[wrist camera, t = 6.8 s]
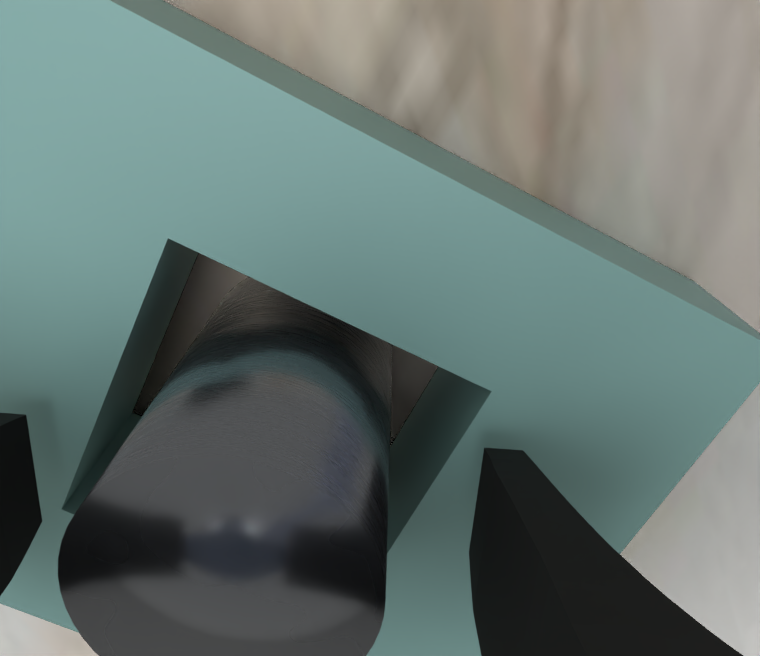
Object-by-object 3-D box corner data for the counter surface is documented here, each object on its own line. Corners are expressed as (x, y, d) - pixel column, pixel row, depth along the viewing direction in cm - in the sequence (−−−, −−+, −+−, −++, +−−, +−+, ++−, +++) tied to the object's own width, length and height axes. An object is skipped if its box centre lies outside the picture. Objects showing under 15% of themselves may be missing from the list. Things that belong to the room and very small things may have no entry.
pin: (405, 279, 14) (408, 481, 8) (379, 443, 16) (364, 726, 9) (212, 252, 14) (48, 434, 7) (204, 420, 15) (65, 690, 9)
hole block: (694, 281, 14) (783, 352, 11) (436, 637, 18) (444, 768, 15) (84, -42, 12) (-33, -74, 9) (-57, 438, 16) (-174, 538, 13)
